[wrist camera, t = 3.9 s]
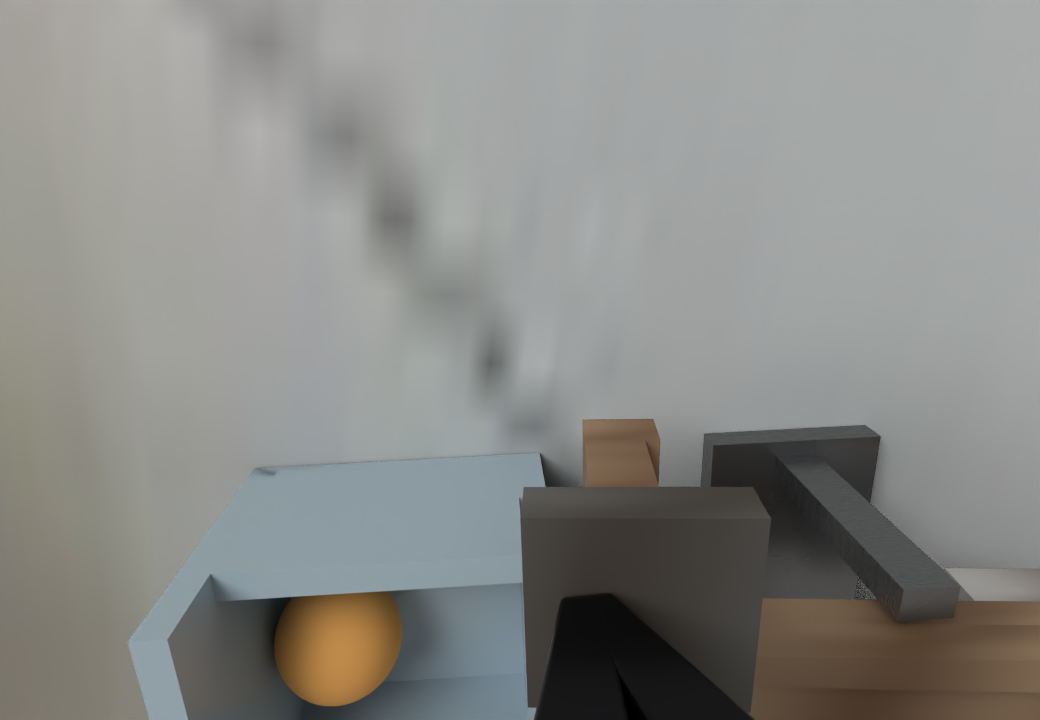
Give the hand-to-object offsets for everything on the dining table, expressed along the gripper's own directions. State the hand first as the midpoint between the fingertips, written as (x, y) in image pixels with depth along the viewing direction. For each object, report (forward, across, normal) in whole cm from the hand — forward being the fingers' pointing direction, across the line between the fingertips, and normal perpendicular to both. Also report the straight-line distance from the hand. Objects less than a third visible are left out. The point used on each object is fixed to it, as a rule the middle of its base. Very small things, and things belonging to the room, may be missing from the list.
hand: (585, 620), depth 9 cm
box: (+10, +4, +7) cm, 13 cm away
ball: (+8, +5, +7) cm, 12 cm away
